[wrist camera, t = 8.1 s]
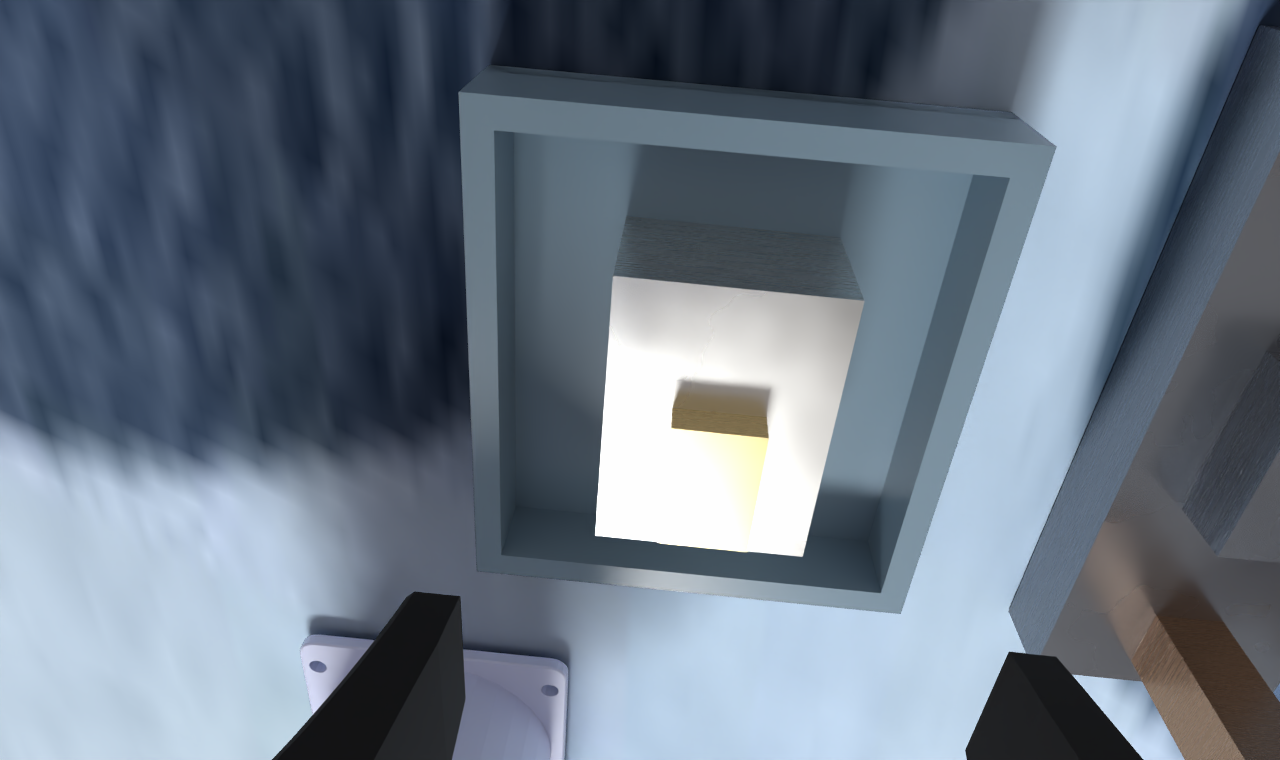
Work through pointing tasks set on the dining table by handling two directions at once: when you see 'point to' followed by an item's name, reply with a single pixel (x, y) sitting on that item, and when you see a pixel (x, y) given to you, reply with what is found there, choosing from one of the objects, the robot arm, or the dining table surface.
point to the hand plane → (1186, 464)
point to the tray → (739, 197)
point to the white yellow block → (722, 383)
